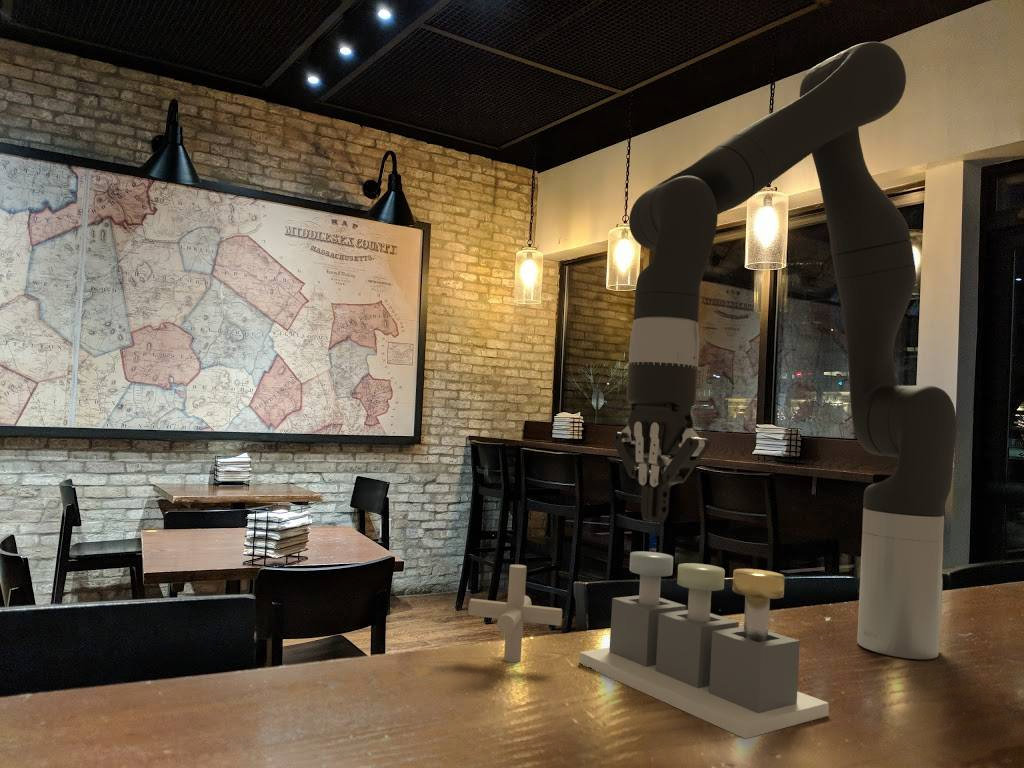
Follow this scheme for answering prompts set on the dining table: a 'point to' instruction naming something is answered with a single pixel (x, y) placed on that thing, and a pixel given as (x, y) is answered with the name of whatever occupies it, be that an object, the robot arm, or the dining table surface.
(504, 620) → the pipe connector
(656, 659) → the socket board
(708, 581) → the sage plug
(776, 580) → the brass plug
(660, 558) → the slate plug
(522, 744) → the dining table surface
